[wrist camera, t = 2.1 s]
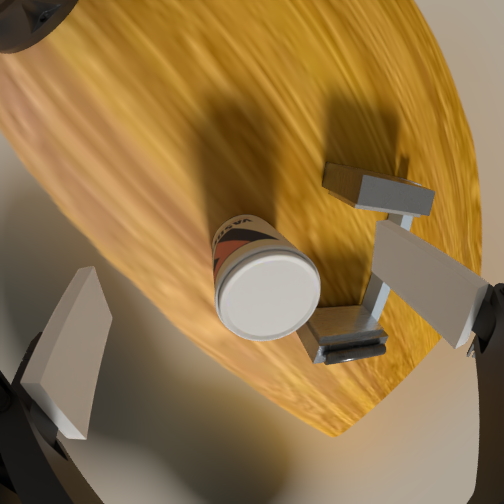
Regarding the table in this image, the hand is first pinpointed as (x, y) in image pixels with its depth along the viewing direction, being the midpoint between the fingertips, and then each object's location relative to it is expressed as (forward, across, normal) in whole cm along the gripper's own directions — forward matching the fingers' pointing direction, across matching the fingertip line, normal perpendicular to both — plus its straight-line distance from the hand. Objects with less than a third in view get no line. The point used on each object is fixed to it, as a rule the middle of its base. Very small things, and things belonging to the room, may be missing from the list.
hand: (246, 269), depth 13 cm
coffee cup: (+21, +3, -8) cm, 22 cm away
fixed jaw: (+20, +19, -2) cm, 28 cm away
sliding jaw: (+20, +15, -21) cm, 33 cm away
